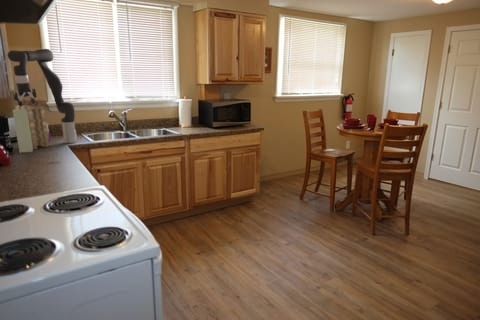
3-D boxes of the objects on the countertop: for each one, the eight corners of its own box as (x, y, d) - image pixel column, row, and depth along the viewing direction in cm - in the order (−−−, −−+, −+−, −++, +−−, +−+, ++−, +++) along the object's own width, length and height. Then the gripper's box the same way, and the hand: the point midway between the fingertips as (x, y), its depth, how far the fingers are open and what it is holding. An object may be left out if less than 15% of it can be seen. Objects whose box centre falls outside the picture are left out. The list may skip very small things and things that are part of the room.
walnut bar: (20, 105, 247) (19, 99, 246) (25, 104, 251) (25, 99, 250) (41, 106, 237) (41, 100, 236) (47, 105, 240) (46, 100, 239)
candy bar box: (36, 143, 267) (33, 123, 264) (33, 142, 270) (30, 123, 266) (50, 141, 276) (48, 122, 273) (47, 140, 279) (45, 121, 275)
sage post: (20, 150, 238) (13, 109, 231) (32, 149, 242) (26, 109, 235) (19, 152, 232) (12, 110, 224) (32, 151, 236) (26, 110, 228)
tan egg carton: (20, 147, 251) (14, 105, 244) (36, 144, 262) (30, 104, 254) (34, 148, 245) (27, 106, 237) (49, 146, 255) (43, 105, 248)
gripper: (29, 79, 226) (33, 101, 233) (8, 82, 214) (13, 106, 221) (36, 81, 223) (40, 103, 230) (15, 84, 212) (20, 108, 219)
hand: (27, 104), depth 226 cm, fingers open, 8 cm apart
